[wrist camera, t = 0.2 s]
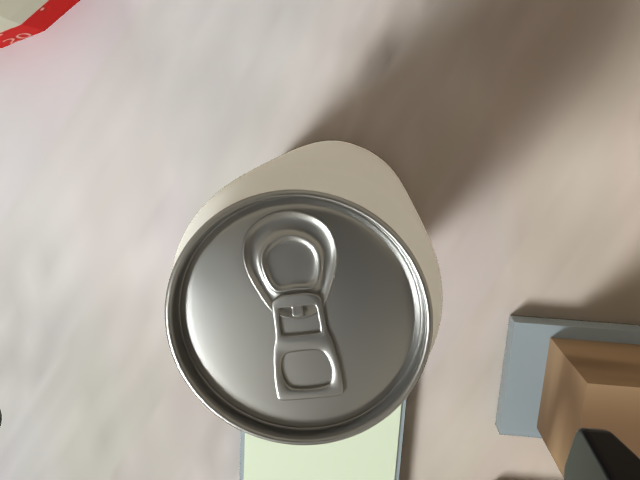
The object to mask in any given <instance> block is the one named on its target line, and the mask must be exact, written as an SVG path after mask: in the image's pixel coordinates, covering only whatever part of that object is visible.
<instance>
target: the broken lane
mask: <svg viewBox="0 0 640 480" xmlns="http://www.w3.org/2000/svg"><path fill="white" fill-rule="evenodd" d="M550 338H562V339H575V340H588V341H601V342H613V343H626V344H639V345H640V325H630V324H617V323H604V322H590V321H577V320H564V319H551V318H538V317H525V316H512V315H510V318H509V326H508V333H507V341H506V348H505V356H504V363H503V371H502V378H501V386H500V393H499V401H498V408H497V416H496V423H495V425H496V427H497V429H498V432H499V434H501V435H512V436H523V437H535V438H542V437H541V435H540V433H539V431H538V429H537V421H538V415H539V408H540V401H541V395H542V388H543V382H544V375H545V368H546V362H547V355H548V348H549V342H550Z"/></svg>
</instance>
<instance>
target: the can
mask: <svg viewBox="0 0 640 480" xmlns="http://www.w3.org/2000/svg"><path fill="white" fill-rule="evenodd" d="M442 301H443V296H442V281H441V274H440V268H439V264H438V260H437V257H436V254H435V251H434V248H433V245H432V243H431V240H430V238H429V236H428V234H427V232H426V229H425V227H424V225H423V223H422V221H421V219H420V217H419V215H418V213H417V211H416V209H415V207H414V205H413V203H412V201H411V199H410V197H409V195H408V193H407V192H406V190H405V188H404V186H403V184H402V183H401V181H400V179H399V178H398V176H397V175H396V174H395V172H394V171H393V170H392V169H391V168H390V167H389V166H388V165H387V164H386V163H385V162H384V161H383V160H382V159H381V158H379V157H378V156H377V155H375V154H374V153H372V152H370V151H368V150H367V149H364V148H362V147H360V146H357V145H354V144H351V143H348V142H343V141H321V142H316V143H312V144H308V145H305V146H302V147H299V148H297V149H294V150H292V151H290V152H287V153H285V154H283V155H281V156H279V157H277V158H275V159H273V160H271V161H269V162H267V163H265V164H263V165H261V166H259V167H257V168H255V169H253V170H251V171H249V172H247V173H246V174H244V175H242V176H240V177H239V178H237V179H235V180H234V181H232V182H231V183H229V184H228V185H226V186H225V187H224V188H222V189H221V190H220V191H218V192H217V193H216V194H215V195H214V196H213V197H212V198H211V199H210V200H209V201H208V202H207V203H206V204H205V205H204V206H203V207H202V208H201V210H200V211H199V212H198V213H197V215H196V216H195V217H194V219H193V220H192V222H191V223H190V225H189V226H188V228H187V230H186V232H185V233H184V235H183V237H182V240H181V242H180V244H179V247H178V250H177V253H176V256H175V260H174V264H173V269H172V273H171V276H170V279H169V283H168V287H167V293H166V300H165V326H166V333H167V338H168V343H169V346H170V350H171V353H172V356H173V358H174V361H175V363H176V365H177V367H178V369H179V371H180V373H181V375H182V377H183V378H184V380H185V382H186V383H187V385H188V386H189V387H190V389H191V390H192V391H193V393H194V394H195V395H196V396H197V398H198V399H199V400H200V401H201V402H202V403H203V404H204V405H205V406H206V407H207V408H208V409H209V410H211V411H212V412H213V413H214V414H215V415H217V416H218V417H219V418H221V419H222V420H224V421H225V422H227V423H228V424H230V425H231V426H233V427H235V428H237V429H239V430H241V431H243V432H245V433H247V434H250V435H252V436H255V437H257V438H260V439H264V440H267V441H271V442H276V443H281V444H289V445H319V444H326V443H332V442H336V441H340V440H344V439H347V438H350V437H352V436H355V435H357V434H360V433H362V432H364V431H366V430H368V429H370V428H371V427H373V426H375V425H376V424H378V423H379V422H381V421H382V420H384V419H385V418H386V417H388V416H389V415H390V414H391V413H392V412H393V411H395V410H396V409H397V408H398V407H399V406H400V405H401V403H402V402H403V401H404V400H405V399H406V398H407V396H408V395H409V394H410V392H411V391H412V390H413V388H414V386H415V385H416V383H417V382H418V380H419V378H420V376H421V374H422V372H423V369H424V367H425V364H426V362H427V359H428V356H429V354H430V352H431V350H432V347H433V345H434V342H435V339H436V337H437V333H438V330H439V326H440V321H441V314H442Z"/></svg>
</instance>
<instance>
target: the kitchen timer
mask: <svg viewBox="0 0 640 480" xmlns="http://www.w3.org/2000/svg"><path fill="white" fill-rule="evenodd" d="M79 1H80V0H0V48H3V47H5V46H8V45H10V44H13V43H15V42H18V41H20V40H23V39H25V38H28V37H30V36H33V35H35V34H38V33H40V32H42V31H45V30H46V29H47V28H48V27H49V26H51V25H52V24H53V23H54V22H55V21H56V20H58V19H59V18H60V17H61V16H62V15H63V14H65V13H66V12H67V11H68V10H69V9H70V8H72V7H73V6H74V5H75V4H76V3H77V2H79Z"/></svg>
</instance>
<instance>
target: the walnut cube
mask: <svg viewBox="0 0 640 480" xmlns="http://www.w3.org/2000/svg"><path fill="white" fill-rule="evenodd" d="M583 427H585V428H597V429H606V430H608V431H610V432H612V433H613V434H614V435H615V436H616V437H617V438H618V439H619V440H621V441H622V442H623V443H624V444H625V445H626V446H627V447H628V448H629V449H630V450H631V451H632V452H633V453H635V454H636V455H637V456H638V457H639V458H640V345H639V344H626V343H613V342H601V341H588V340H575V339H562V338H550V342H549V348H548V355H547V362H546V368H545V375H544V382H543V388H542V395H541V401H540V408H539V415H538V421H537V429H538V431H539V433H540V435H541V437H542V438H543V440H544V442H545V444H546V446H547V448H548V450H549V451H550V453H551V455H552V457H553V459H554V461H555V462H556V464H557V466H558V468H559V470H560V472H561V474H562V475H563V477H564V467H565V463H566V460H567V457H568V454H569V451H570V448H571V445H572V442H573V439H574V436H575V434H576V431H577V430H578V429H580V428H583Z"/></svg>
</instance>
